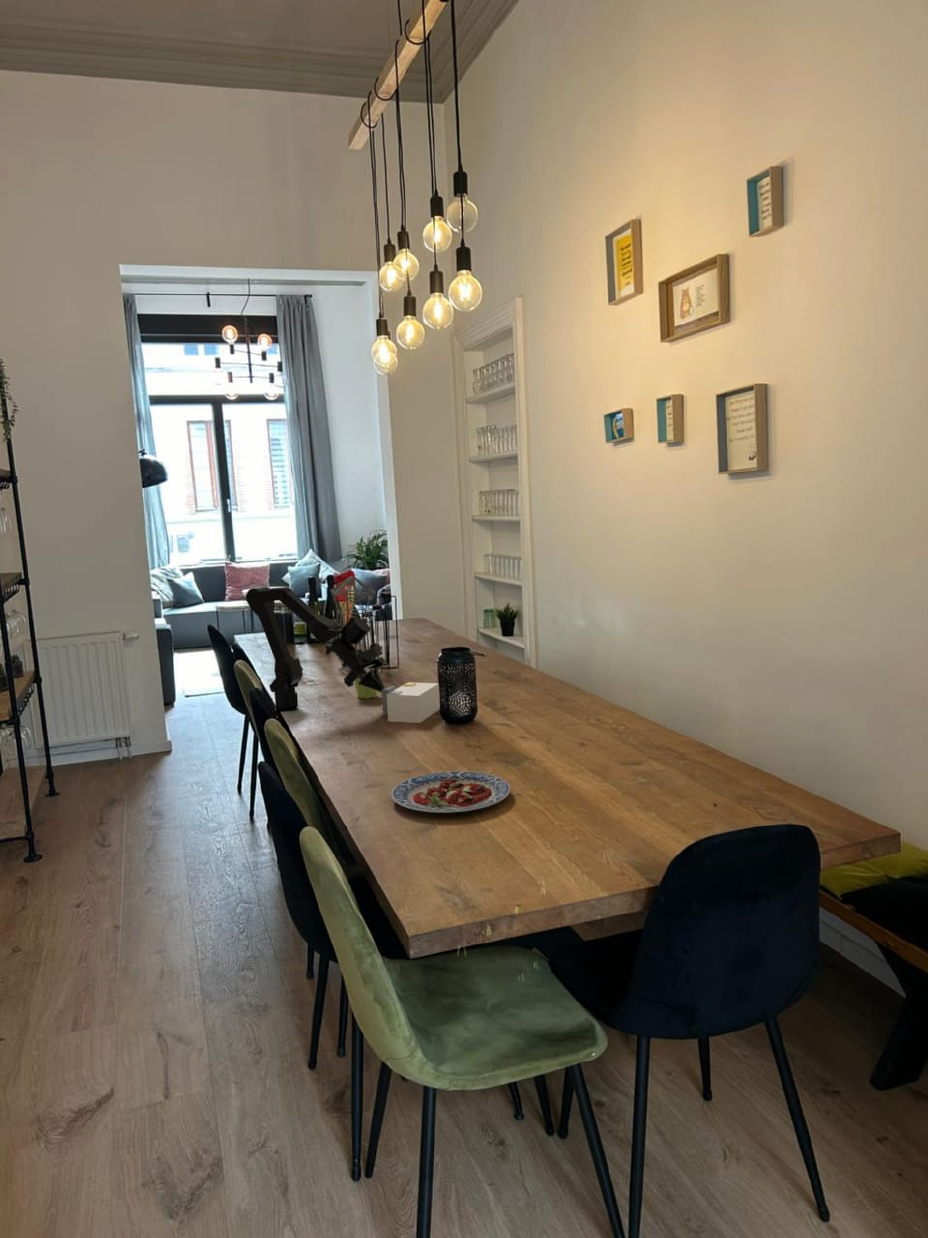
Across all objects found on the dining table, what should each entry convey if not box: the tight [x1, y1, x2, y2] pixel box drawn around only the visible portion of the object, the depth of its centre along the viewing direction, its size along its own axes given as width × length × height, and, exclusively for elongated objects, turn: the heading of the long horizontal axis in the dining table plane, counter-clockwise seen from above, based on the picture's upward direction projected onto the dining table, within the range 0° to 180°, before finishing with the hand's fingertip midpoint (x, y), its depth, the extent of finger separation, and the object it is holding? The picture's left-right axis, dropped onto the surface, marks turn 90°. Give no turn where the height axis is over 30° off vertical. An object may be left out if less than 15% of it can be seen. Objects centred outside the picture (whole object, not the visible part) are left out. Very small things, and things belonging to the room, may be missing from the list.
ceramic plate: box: [390, 770, 511, 814], centre depth 193 cm, size 26×26×3 cm
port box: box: [387, 681, 441, 724], centre depth 264 cm, size 10×16×8 cm, turn 161°
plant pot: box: [354, 668, 381, 700], centre depth 290 cm, size 9×9×9 cm
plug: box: [381, 685, 397, 716], centre depth 266 cm, size 9×5×8 cm, turn 71°
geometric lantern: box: [328, 576, 377, 672], centre depth 335 cm, size 16×16×35 cm
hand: (384, 691), depth 267 cm, fingers closed, pressing on plug
